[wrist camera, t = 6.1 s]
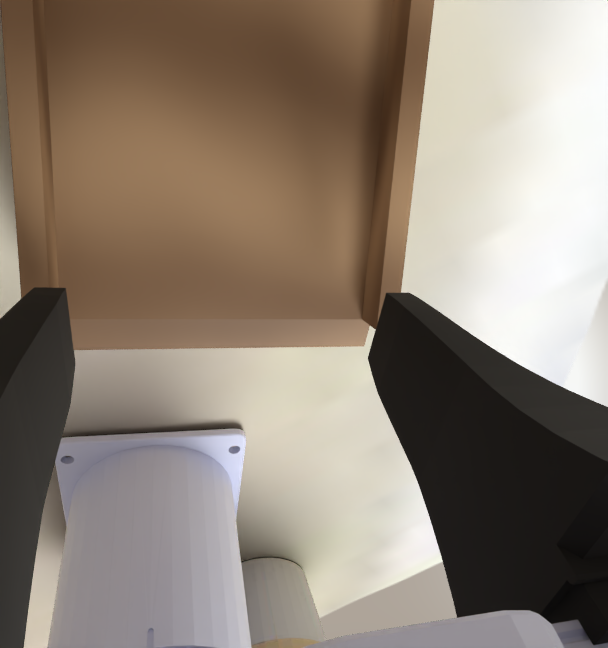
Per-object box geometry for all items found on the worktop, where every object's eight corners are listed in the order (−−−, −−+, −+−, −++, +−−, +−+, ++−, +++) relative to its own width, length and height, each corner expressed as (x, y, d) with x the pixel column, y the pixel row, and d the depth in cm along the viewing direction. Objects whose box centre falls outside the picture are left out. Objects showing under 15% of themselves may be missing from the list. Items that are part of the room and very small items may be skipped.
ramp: (328, 271, 21) (380, 381, 16) (69, 265, 19) (35, 391, 14) (424, -206, 13) (585, -288, 8) (2, -323, 11) (-140, -544, 6)
